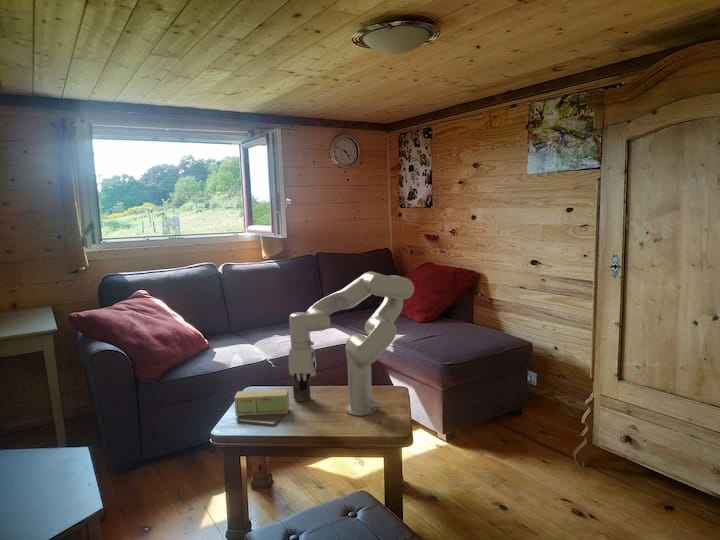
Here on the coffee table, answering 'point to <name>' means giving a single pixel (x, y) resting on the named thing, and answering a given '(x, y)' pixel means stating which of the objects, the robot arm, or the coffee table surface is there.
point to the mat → (261, 419)
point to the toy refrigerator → (261, 402)
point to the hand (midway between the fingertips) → (303, 389)
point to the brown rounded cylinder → (298, 394)
